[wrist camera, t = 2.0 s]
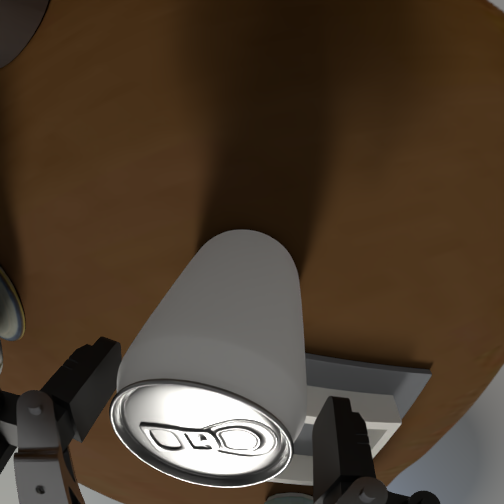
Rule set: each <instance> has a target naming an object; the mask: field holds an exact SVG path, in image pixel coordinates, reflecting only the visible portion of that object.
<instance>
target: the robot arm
mask: <svg viewBox="0 0 504 504" xmlns="http://www.w3.org/2000/svg"><path fill="white" fill-rule="evenodd" d="M48 1H49V0H0V68H1V67H4V66H5V65H7V64H8V63H10V62H11V61H12V60H13V59H14V58H15V57H16V56H17V55H18V54H19V53H20V52H21V51H22V49H23V48H24V47H25V46H26V45H27V43H28V42H29V40H30V39H31V37H32V36H33V34H34V32H35V31H36V29H37V27H38V25H39V24H40V21H41V19H42V17H43V15H44V13H45V10H46V7H47V4H48ZM121 361H122V360H121V345H120V343H119V342H116V341H113V340H111V339H108V338H105V337H100V338H99V339H98V340H97V341H96V342H95V343H94V345H93V346H91V345H88V344H86V345H84V346H82V347H80V348H78V349H76V350H75V351H74V353H73V354H72V355H71V356H70V357H69V359H67V360H66V361H65V363H64V364H63V366H61V367H60V368H59V369H58V370H57V372H56V373H55V374H54V375H53V376H52V377H51V378H50V379H49V381H48V382H47V383H46V384H45V385H44V386H43V388H42V389H41V390H40V391H38V390H31V391H27V392H25V393H23V394H22V395H21V396H20V395H16V394H12V393H8V392H5V391H1V389H0V474H1V472H2V470H3V469H4V467H5V465H6V464H7V462H8V460H9V459H10V457H11V456H12V454H13V452H14V451H15V449H16V448H17V447H18V453H14V469H15V476H16V484H17V492H18V498H19V503H20V504H85V502H84V499H83V497H82V494H81V492H80V489H79V486H78V483H77V479H76V475H75V471H74V467H73V462H72V458H71V453H70V449H69V443H70V442H71V440H72V439H75V440H77V441H79V442H81V443H82V442H83V440H84V438H85V437H86V435H87V434H88V432H89V430H90V429H91V427H92V426H93V424H94V422H95V421H96V419H97V418H98V416H99V414H100V413H101V411H102V410H103V408H104V407H105V405H106V403H107V402H108V400H109V399H110V397H111V396H112V394H113V393H114V391H115V389H116V388H117V375H118V369H119V366H120V364H121ZM367 435H368V432H367V427H366V422H365V421H364V419H363V418H362V416H361V415H360V413H359V412H352V408H351V403H350V399H349V398H344V397H336V396H329V397H328V398H327V400H326V402H325V403H324V405H323V407H322V409H321V411H320V413H319V415H318V416H317V418H316V420H315V422H314V426H313V431H312V447H313V504H440V501H439V499H438V498H437V497H436V496H435V495H434V494H432V493H431V492H428V491H418V492H416V493H414V494H413V495H412V496H411V497H408V496H404V495H399V494H395V493H392V492H389V491H387V488H386V486H385V485H384V484H383V483H382V482H381V481H380V480H378V479H376V475H375V469H374V464H373V458H372V453H371V447H370V445H369V443H370V442H369V437H368V436H367Z"/></svg>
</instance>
